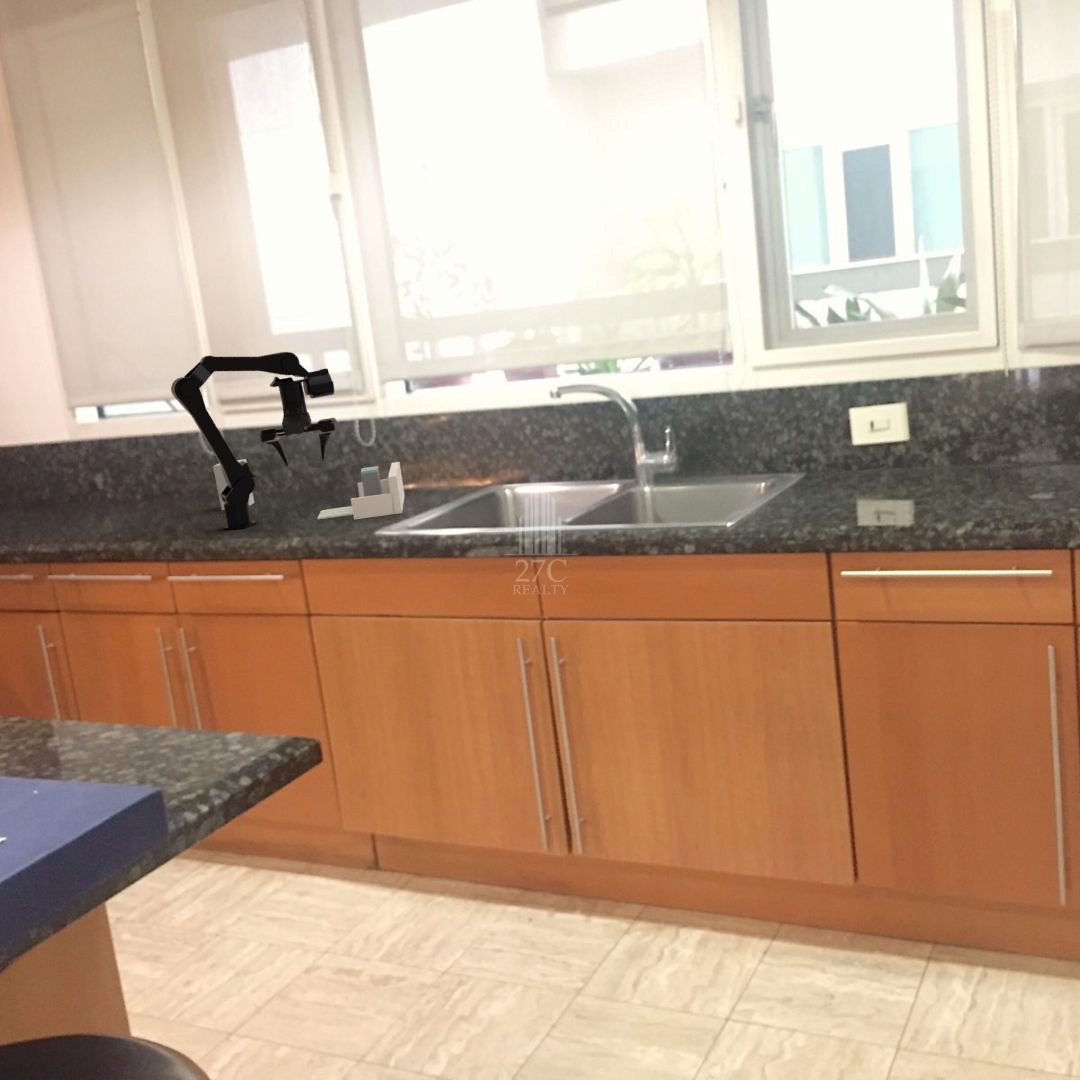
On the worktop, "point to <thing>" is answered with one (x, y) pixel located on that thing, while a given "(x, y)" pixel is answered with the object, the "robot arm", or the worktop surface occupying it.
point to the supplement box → (222, 483)
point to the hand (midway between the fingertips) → (305, 463)
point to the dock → (381, 497)
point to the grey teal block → (371, 481)
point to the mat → (335, 512)
